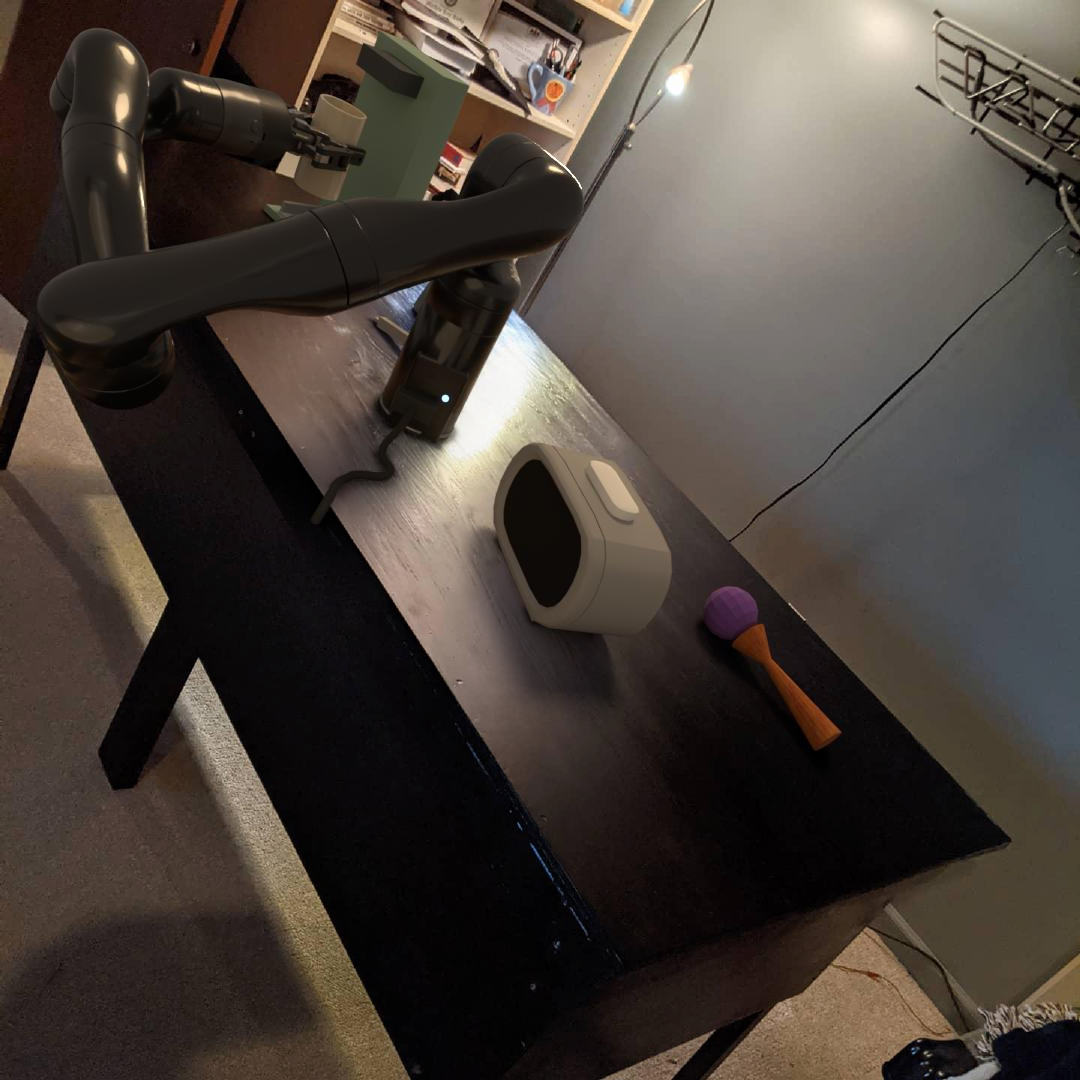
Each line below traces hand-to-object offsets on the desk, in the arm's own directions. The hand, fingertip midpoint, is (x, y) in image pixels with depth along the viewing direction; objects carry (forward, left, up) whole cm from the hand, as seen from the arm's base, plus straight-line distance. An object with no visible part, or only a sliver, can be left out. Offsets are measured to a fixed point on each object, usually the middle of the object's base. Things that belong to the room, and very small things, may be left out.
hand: (346, 144), depth 110 cm
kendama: (-54, -63, -18) cm, 85 cm away
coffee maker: (+16, -1, -18) cm, 24 cm away
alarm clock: (-52, -37, -18) cm, 66 cm away
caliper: (-15, -18, -18) cm, 30 cm away
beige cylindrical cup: (-2, +2, -6) cm, 7 cm away
